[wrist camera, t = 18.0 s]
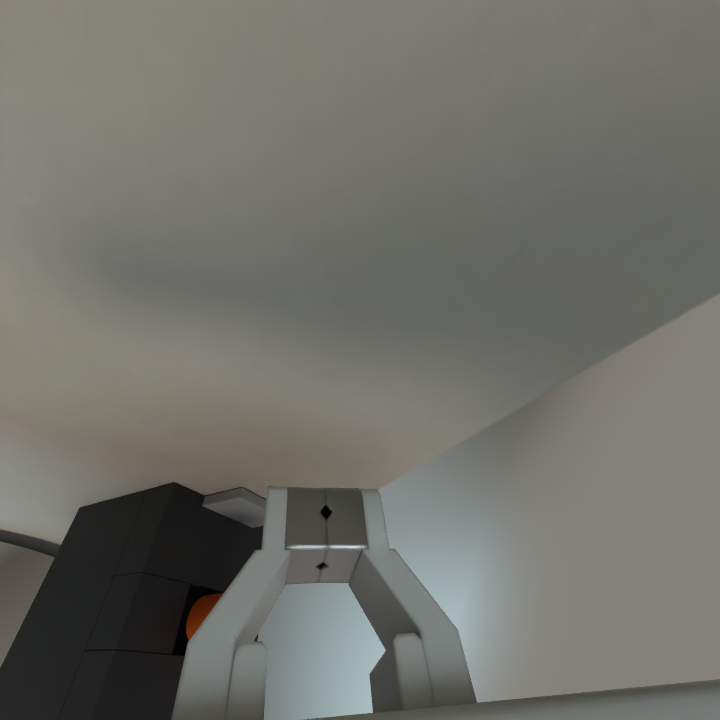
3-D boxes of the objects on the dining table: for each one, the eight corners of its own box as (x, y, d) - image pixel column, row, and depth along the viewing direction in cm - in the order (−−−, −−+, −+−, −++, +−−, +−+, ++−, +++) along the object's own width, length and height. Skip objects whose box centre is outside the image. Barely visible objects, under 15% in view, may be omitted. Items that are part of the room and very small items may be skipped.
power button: (225, 587, 26) (212, 645, 24) (256, 595, 28) (246, 650, 26) (194, 591, 27) (179, 647, 25) (226, 598, 29) (215, 650, 27)
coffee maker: (213, 472, 27) (4, 1206, 12) (309, 522, 35) (261, 1000, 19) (79, 507, 33) (-177, 1023, 18) (187, 544, 41) (76, 921, 25)
